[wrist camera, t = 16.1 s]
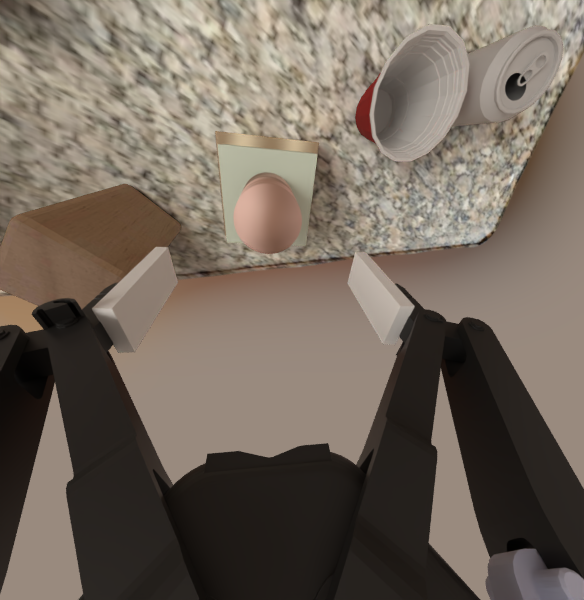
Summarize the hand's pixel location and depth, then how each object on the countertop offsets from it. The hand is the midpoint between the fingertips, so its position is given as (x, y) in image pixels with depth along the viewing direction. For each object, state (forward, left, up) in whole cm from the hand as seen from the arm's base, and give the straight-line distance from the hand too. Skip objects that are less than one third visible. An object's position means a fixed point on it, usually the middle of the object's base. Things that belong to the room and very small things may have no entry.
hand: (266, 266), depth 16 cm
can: (+27, +15, -27) cm, 41 cm away
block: (-22, -6, -27) cm, 35 cm away
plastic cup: (+16, +12, -27) cm, 34 cm away
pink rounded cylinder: (0, +1, -18) cm, 18 cm away
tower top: (0, +1, -23) cm, 23 cm away
